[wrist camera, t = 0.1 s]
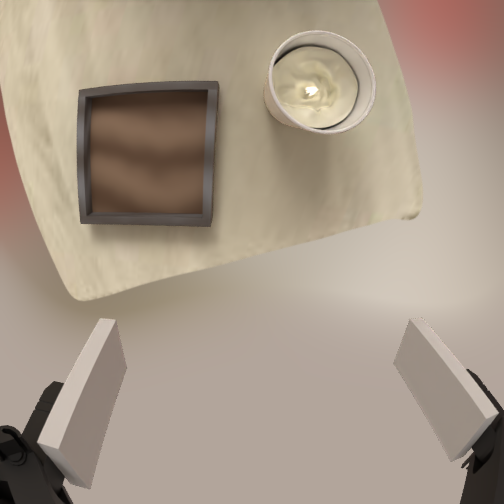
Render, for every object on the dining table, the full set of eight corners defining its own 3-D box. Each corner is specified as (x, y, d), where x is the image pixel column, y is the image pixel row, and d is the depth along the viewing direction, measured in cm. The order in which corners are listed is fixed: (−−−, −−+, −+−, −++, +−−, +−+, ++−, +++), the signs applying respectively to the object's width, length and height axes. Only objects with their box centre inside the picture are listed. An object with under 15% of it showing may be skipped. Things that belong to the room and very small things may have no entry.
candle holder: (255, 131, 35) (266, 129, 24) (258, 55, 32) (270, 23, 21) (333, 136, 36) (374, 140, 25) (335, 64, 32) (376, 41, 21)
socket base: (89, 92, 31) (78, 90, 29) (218, 85, 33) (217, 81, 30) (89, 217, 38) (80, 223, 35) (212, 219, 39) (210, 226, 36)
